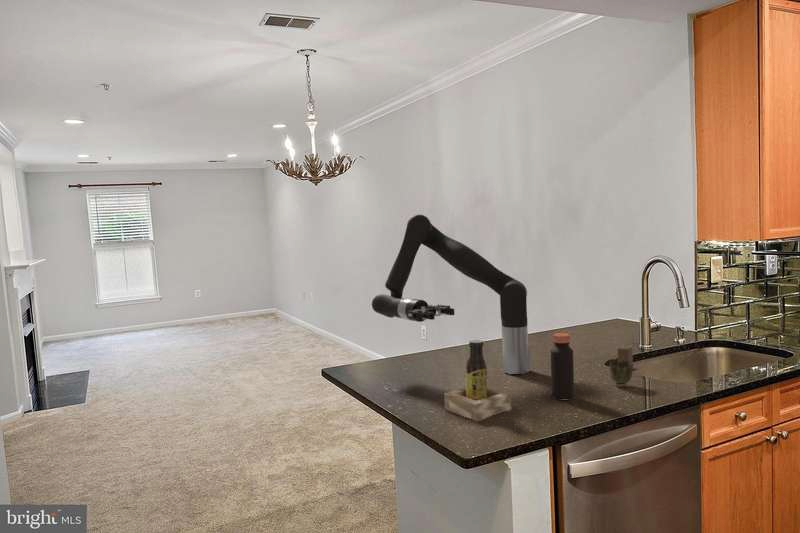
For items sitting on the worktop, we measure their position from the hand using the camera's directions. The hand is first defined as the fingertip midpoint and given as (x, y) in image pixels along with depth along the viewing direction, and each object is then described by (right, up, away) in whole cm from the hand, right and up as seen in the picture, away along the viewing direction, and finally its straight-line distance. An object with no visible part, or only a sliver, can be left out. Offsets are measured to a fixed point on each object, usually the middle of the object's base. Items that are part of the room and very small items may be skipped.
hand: (443, 314), depth 190 cm
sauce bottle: (+9, -27, -14) cm, 31 cm away
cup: (+58, -24, +1) cm, 63 cm away
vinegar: (+37, -26, -6) cm, 45 cm away
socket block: (+9, -28, -14) cm, 32 cm away
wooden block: (+67, -22, +21) cm, 74 cm away
